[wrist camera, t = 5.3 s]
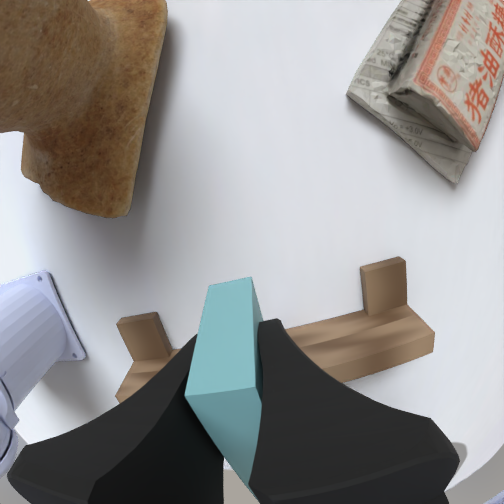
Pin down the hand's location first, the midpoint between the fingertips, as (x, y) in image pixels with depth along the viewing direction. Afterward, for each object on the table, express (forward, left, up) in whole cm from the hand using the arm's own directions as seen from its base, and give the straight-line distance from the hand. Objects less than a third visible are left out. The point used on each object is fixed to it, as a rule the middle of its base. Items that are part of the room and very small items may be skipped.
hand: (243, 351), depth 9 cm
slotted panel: (0, -6, -2) cm, 6 cm away
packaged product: (+18, +12, -10) cm, 24 cm away
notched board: (0, -6, -9) cm, 11 cm away
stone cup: (-8, +14, -10) cm, 19 cm away
